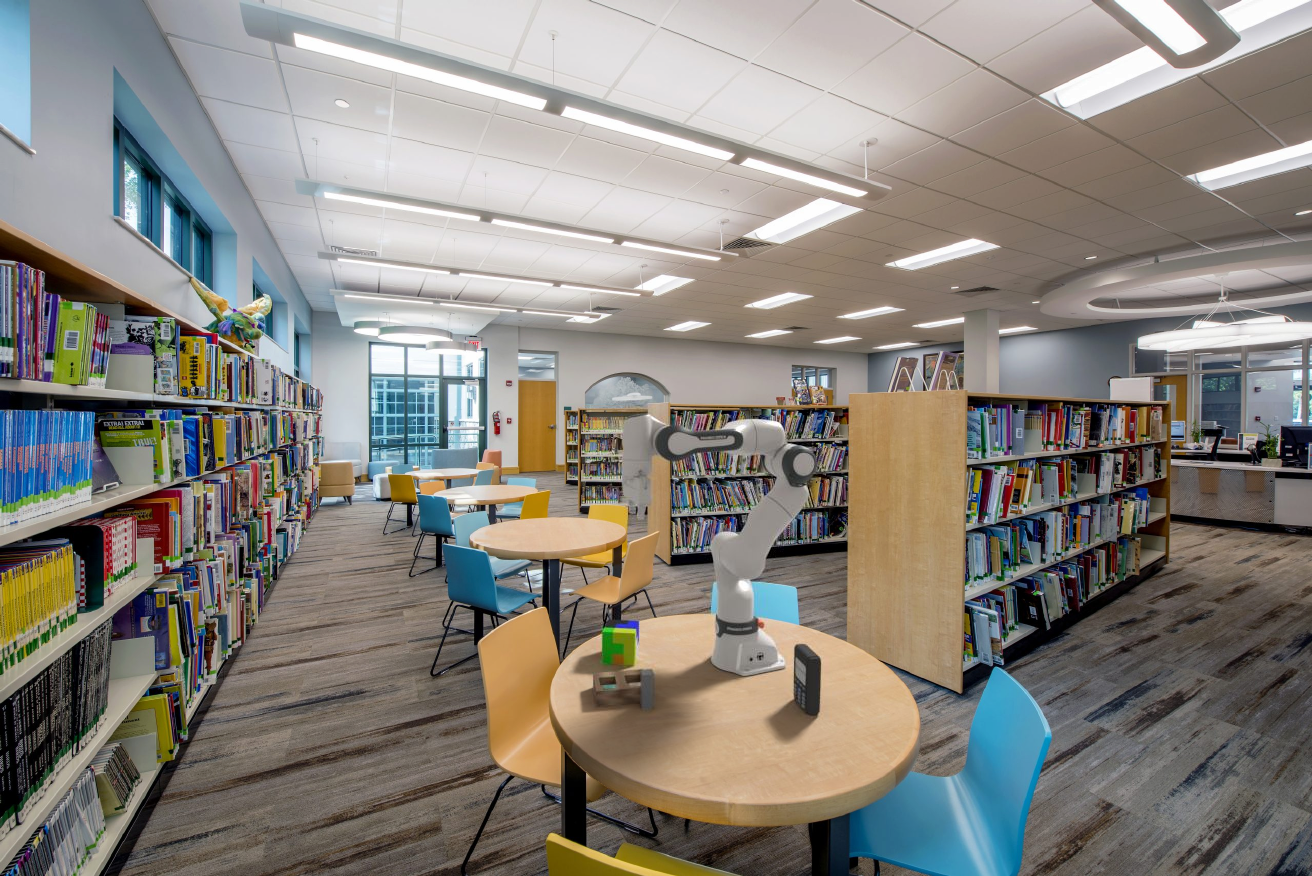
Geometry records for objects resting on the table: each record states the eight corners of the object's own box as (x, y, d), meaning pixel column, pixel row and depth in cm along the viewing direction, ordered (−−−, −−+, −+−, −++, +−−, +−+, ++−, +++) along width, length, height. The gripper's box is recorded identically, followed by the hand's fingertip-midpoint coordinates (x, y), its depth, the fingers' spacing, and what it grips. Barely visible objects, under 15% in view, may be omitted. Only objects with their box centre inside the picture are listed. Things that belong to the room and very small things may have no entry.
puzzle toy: (638, 651, 170) (639, 620, 170) (634, 666, 160) (634, 633, 160) (608, 649, 171) (608, 619, 171) (601, 664, 161) (602, 631, 161)
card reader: (790, 697, 143) (792, 643, 142) (804, 696, 144) (806, 642, 143) (806, 716, 134) (807, 658, 133) (821, 715, 135) (822, 657, 134)
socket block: (642, 683, 150) (642, 668, 150) (649, 701, 140) (649, 686, 140) (593, 687, 147) (593, 672, 147) (596, 706, 137) (596, 690, 137)
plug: (651, 702, 140) (652, 668, 139) (653, 708, 137) (654, 674, 136) (640, 703, 139) (640, 669, 139) (642, 709, 136) (642, 675, 136)
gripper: (657, 472, 145) (656, 522, 146) (638, 465, 165) (638, 510, 165) (635, 473, 144) (634, 523, 144) (618, 466, 163) (618, 510, 164)
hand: (636, 516), depth 155 cm, fingers open, 8 cm apart
